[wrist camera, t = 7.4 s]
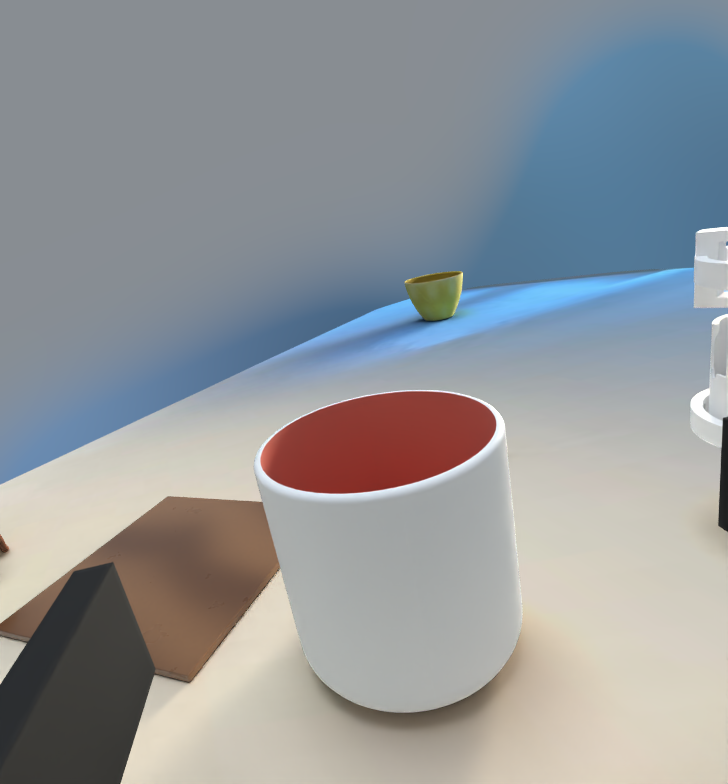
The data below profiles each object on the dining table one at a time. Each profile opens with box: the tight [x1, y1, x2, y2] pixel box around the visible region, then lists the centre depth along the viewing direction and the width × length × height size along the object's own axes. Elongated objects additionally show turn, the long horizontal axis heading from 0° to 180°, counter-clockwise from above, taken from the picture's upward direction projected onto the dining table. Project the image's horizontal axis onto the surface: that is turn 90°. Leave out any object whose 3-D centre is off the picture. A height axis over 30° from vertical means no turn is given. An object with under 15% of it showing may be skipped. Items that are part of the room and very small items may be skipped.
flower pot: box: [404, 271, 463, 321], centre depth 89 cm, size 10×10×7 cm
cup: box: [254, 390, 523, 713], centre depth 22 cm, size 10×10×10 cm
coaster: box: [0, 496, 280, 682], centre depth 32 cm, size 14×14×1 cm
